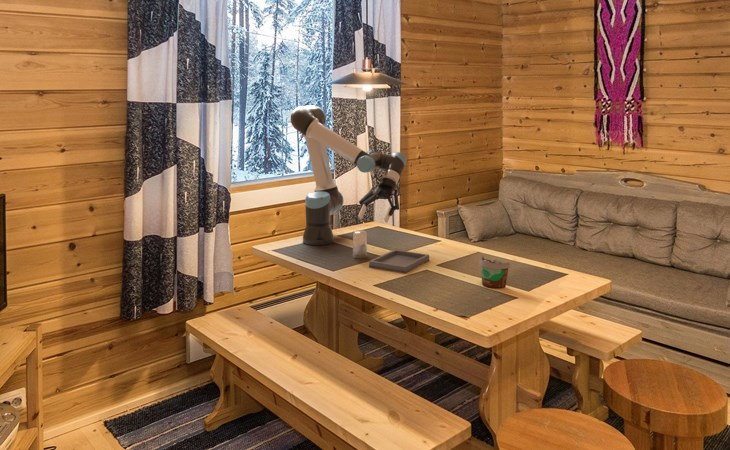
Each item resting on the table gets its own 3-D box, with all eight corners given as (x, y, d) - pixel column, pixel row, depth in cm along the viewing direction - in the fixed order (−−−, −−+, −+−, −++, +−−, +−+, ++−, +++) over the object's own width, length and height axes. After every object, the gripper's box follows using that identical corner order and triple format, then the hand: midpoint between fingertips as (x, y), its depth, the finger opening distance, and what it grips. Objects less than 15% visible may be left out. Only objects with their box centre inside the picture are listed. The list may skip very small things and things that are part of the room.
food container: (471, 284, 239) (472, 259, 236) (481, 281, 243) (482, 255, 241) (499, 292, 230) (500, 265, 228) (508, 288, 234) (510, 262, 232)
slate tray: (368, 266, 261) (368, 261, 261) (394, 254, 280) (394, 249, 279) (405, 273, 253) (405, 267, 252) (429, 260, 271) (429, 254, 270)
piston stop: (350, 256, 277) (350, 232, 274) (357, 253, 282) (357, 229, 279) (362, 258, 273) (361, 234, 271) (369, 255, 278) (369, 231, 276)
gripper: (415, 188, 289) (399, 227, 280) (369, 184, 301) (352, 220, 292) (410, 178, 283) (394, 217, 274) (363, 174, 296) (345, 211, 287)
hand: (372, 219), depth 283 cm, fingers open, 13 cm apart
